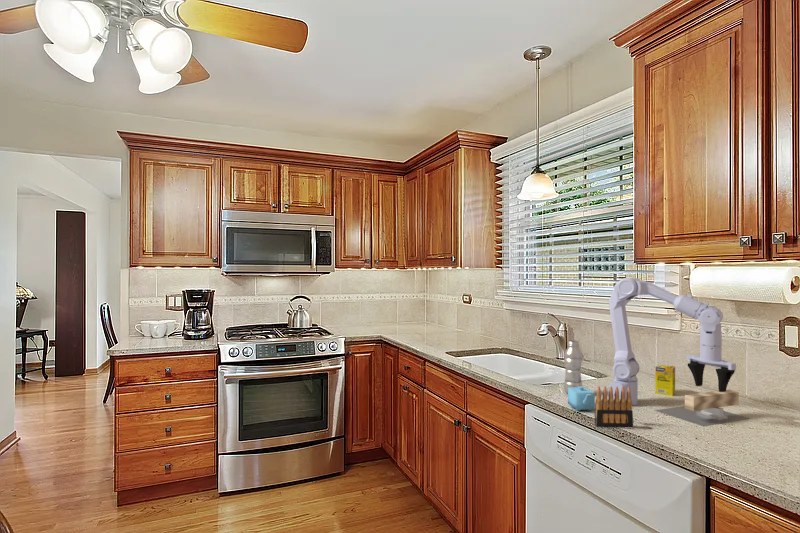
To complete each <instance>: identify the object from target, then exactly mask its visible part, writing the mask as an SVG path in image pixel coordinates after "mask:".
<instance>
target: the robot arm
mask: <svg viewBox="0 0 800 533" xmlns="http://www.w3.org/2000/svg"><path fill="white" fill-rule="evenodd" d="M613 287H614V288H613V291H612V293H611V295H610V297H609V298H608V299H609V300H608V307H609V313H610V314H609V315H610V320H611V328H612V329H611V330H612V335H613V343H614V348H615V349H614V350H615V352H614V353H615V354H614V357H613V362H614V363H613V366H612V373H613V375H614V379H613V380H612V382H610V383H609V385H608V390H609V389H610V387H612V389H613V399H615V389H616V387H618V389H619V399H621V389H622V387H624V390H625V399H627V389H628V387H630V390H631V400H632V406H635V405H638V395H639V394H638V385H639V384H638V383H639V381H638V380H639V379H638V377H637V374H638V373H639V372H640V365H639V362H638V361H637V360H636V355H635V353H634V352H633V350H632V343H631V337H630V335H631V334H630V331H629V330H630V329H629V322H628V316H627V310H626V309H627V308H626V305H627V304H629V302H630V301H631V300H632V299H633V298H636V297H638V296H639V295H640V296H642V295H644V296H645V295H649V296H651V297H654V298H656V299H659V300H661V301H664V302H666V303H668V304H671V305H673V308H674V310H675V311H677V312H679V313H681V314H684V315H685V316H688V317H690V318H691V319H695V320H698V321H699V323H700V329H699V355H692V354H689V355H687V356H686V361H687V362H689V363H687V367H688V369H689V370H690V372H691V374H692V377H693V381H694V383H695V386H696V387H702V386H703V384H704V383H703V382H704V381H703V380H704V371H705V367H706V366H710V367H711V366H712V367H716V368H715V371H716V375H717V381H718V385H717V386H718V388H717V390H718V391H719V392H726V390H727V388H728V385H729V382H730V379H731V378H732V377H733V375H734V374H735V372H736V370H737V363H735V362H731V361H727V360H723V359H722V344H723V343H722V342H723V341H722V340H723V339H722V337H723V334H722V333H723V332H722V323H721V322H722V320H723V318H724V314H723V312H722V310H721V309H720V308H718V307H717V306H715V305H709V302H702V301H700V300H698V299H695V298H694V295H691V294H687V295H686V294H681V295H677V294H676V293H675V294H674V293H673V292H670V291H668V290H666V289H664V288H662V287H659V286H658V285H655V284H653V283H652V282H649V281H647V280H646V281H645V280H644V279H643V280H641V279H640V278H637V277H629V278H628V277H625V278H622V279H620V280H619V281H618V282H616V284H615V285H614V286H613Z"/></svg>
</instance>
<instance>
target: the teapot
mask: <svg viewBox="0 0 800 533" xmlns="http://www.w3.org/2000/svg"><path fill="white" fill-rule="evenodd" d="M582 386H583V385H582ZM582 386H579V387H571V388H568V393H567V404H568V405H569V406H571V407H572V409H575V411H576V412H581V410H586V411H587V412H591V410H595V408H596V396H595V393H596V392H594V391H592V390H591V389H589V388H587V387H584V386H583V387H582Z"/></svg>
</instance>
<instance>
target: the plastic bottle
mask: <svg viewBox="0 0 800 533" xmlns="http://www.w3.org/2000/svg"><path fill="white" fill-rule="evenodd" d="M563 359H564V366H565V367H564V368H565V376H564V382H563V389H564V391H565V393H566V394H568V388H571V387H579V386H582V387H584V386H583V383H582V361H583V354H582V352H581V350H580V349H579V340H574V339H570V340H568V341H567V348H566V349H565V351H564V353H563Z"/></svg>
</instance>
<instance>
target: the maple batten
mask: <svg viewBox="0 0 800 533" xmlns="http://www.w3.org/2000/svg"><path fill="white" fill-rule="evenodd" d="M739 402H740V393H739V391H736V390H732V389H726V392H719V390H715V391H708V392H699V393H692V394H691V393H690V394H685V395H684V406H685V408H686V409H689V410H692V411H697V410H704V409H710V408H717V407H719V408H723V407H724V408H725V407H730V406H737V405H740V403H739Z"/></svg>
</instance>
